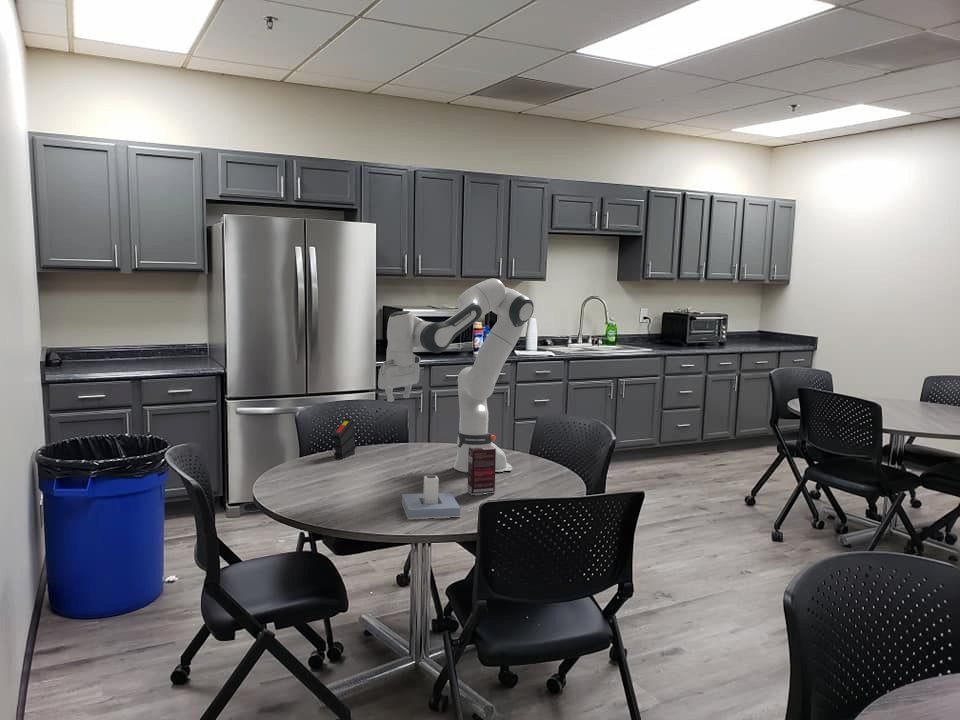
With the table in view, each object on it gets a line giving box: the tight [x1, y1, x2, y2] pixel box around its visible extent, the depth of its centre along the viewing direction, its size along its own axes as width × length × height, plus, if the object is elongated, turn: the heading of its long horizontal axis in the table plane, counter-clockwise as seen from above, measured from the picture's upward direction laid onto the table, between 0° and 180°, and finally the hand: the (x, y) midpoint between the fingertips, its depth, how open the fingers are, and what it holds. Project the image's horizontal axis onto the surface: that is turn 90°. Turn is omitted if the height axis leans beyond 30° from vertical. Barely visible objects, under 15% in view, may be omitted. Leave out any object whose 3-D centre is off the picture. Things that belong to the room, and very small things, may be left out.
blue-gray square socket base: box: [401, 492, 462, 520], centre depth 226 cm, size 16×16×3 cm
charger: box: [423, 474, 440, 504], centre depth 225 cm, size 4×4×11 cm
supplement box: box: [467, 446, 496, 496], centre depth 245 cm, size 9×5×16 cm, turn 110°
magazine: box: [331, 418, 357, 460], centre depth 288 cm, size 4×13×15 cm, turn 161°
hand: (398, 399), depth 244 cm, fingers open, 8 cm apart
